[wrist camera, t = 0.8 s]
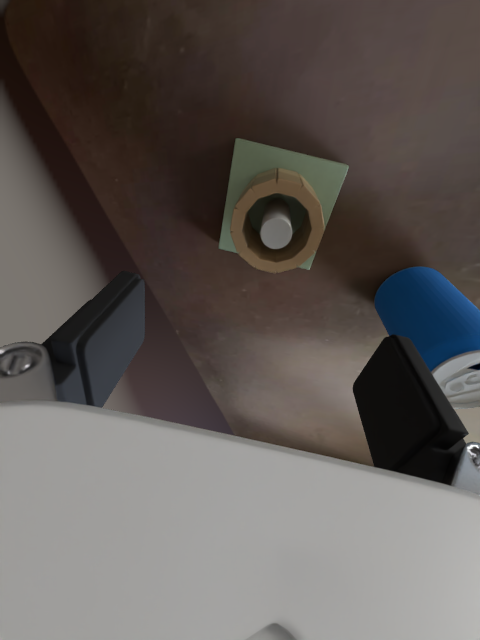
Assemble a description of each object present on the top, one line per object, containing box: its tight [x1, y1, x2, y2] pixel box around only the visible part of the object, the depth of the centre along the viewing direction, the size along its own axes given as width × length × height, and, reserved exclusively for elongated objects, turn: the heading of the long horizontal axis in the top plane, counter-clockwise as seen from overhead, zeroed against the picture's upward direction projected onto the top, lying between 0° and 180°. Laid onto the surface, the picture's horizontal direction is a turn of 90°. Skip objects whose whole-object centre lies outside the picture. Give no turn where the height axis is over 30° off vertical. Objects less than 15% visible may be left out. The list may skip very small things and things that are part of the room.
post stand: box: [219, 138, 349, 269], centre depth 22 cm, size 9×9×7 cm
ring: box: [230, 168, 325, 273], centre depth 22 cm, size 7×7×5 cm
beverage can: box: [374, 267, 480, 409], centre depth 23 cm, size 6×6×12 cm
